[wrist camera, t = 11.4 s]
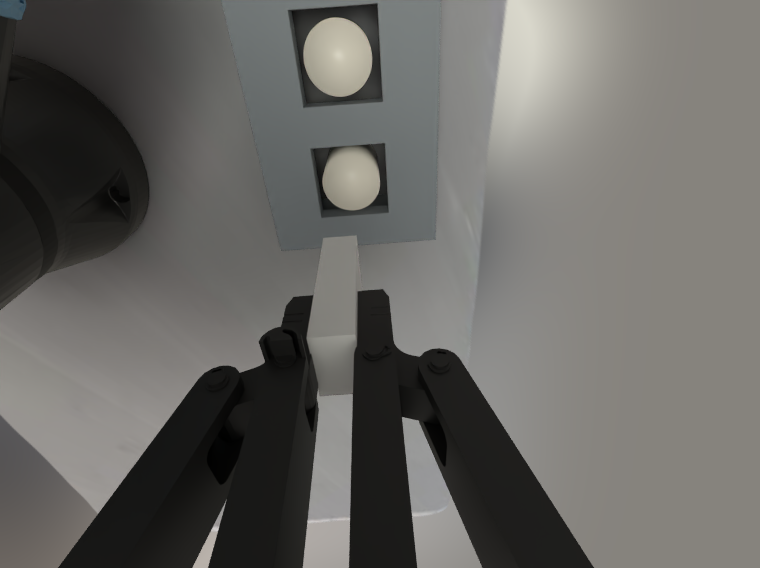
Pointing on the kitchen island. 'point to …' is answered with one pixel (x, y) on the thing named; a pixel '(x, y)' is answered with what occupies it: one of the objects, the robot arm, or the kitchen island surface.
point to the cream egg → (337, 57)
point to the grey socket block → (342, 121)
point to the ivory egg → (351, 176)
